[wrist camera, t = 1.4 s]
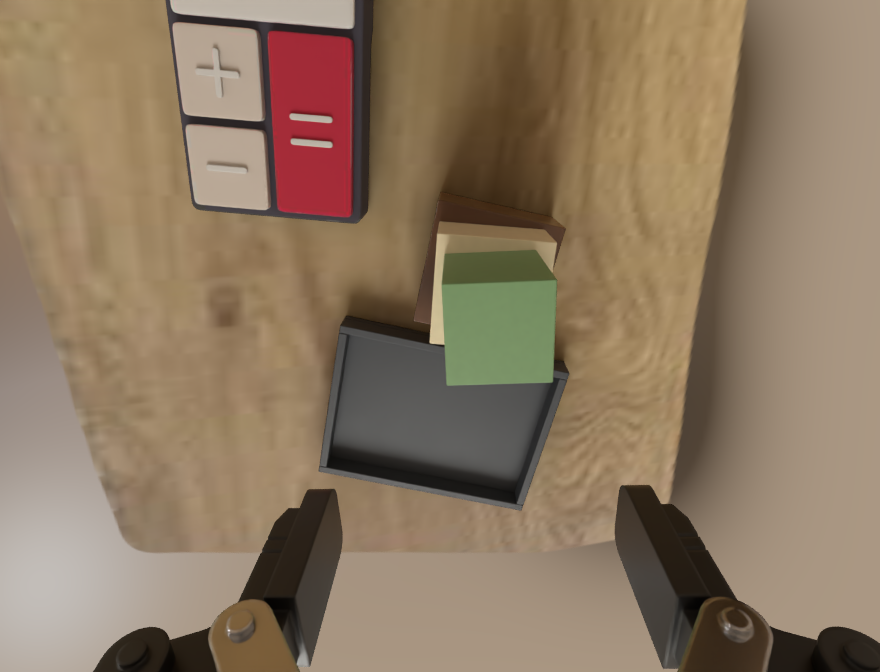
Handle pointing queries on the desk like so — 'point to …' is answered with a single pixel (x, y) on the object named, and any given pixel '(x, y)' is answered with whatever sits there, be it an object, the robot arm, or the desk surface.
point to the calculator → (275, 105)
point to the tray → (431, 419)
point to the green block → (498, 318)
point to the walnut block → (475, 213)
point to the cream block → (481, 240)
